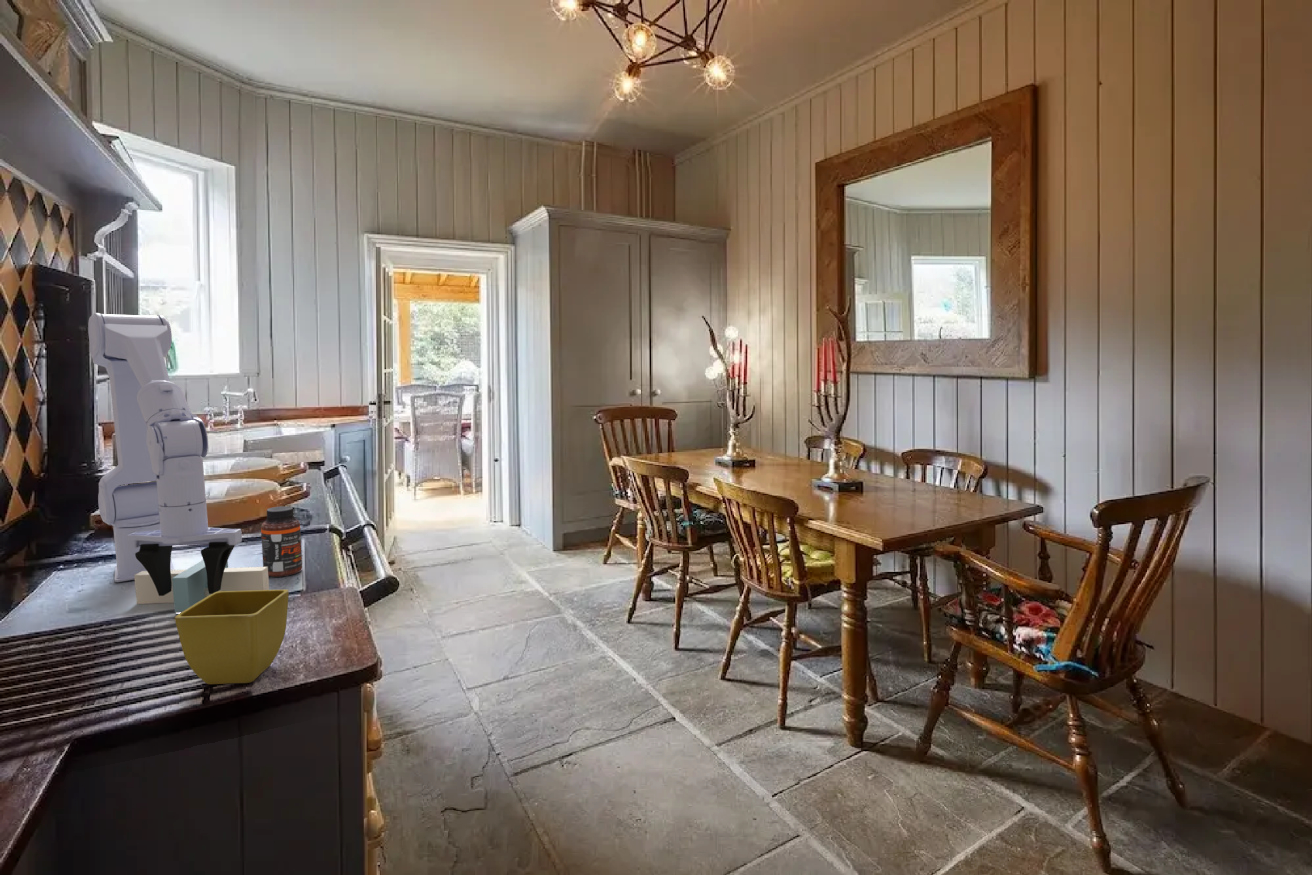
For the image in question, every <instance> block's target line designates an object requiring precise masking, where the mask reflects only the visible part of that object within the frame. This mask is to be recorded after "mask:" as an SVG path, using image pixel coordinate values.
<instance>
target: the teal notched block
mask: <svg viewBox="0 0 1312 875" xmlns="http://www.w3.org/2000/svg"><path fill="white" fill-rule="evenodd" d="M225 568H229V561H227V563H226V566H225ZM184 570H185V571H183V572H182V573H180V574H178V575H176V576H175V577H173V578H172V585H173V596H174V603H173V607H174V613H175V612H183V611H185V610H186V609H188V608H189V607H191V606H193V605H194V604H196V603H197V602H199V601H201V600H202V599H204V598H205V595H204V588H208V584H207V572H206V567H205V563H204V560H203V559H202V560H201V561H199V562H197V563H196V564H194V565H191V566H190V567H189V568H187V570H186V569H184Z"/></svg>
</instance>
